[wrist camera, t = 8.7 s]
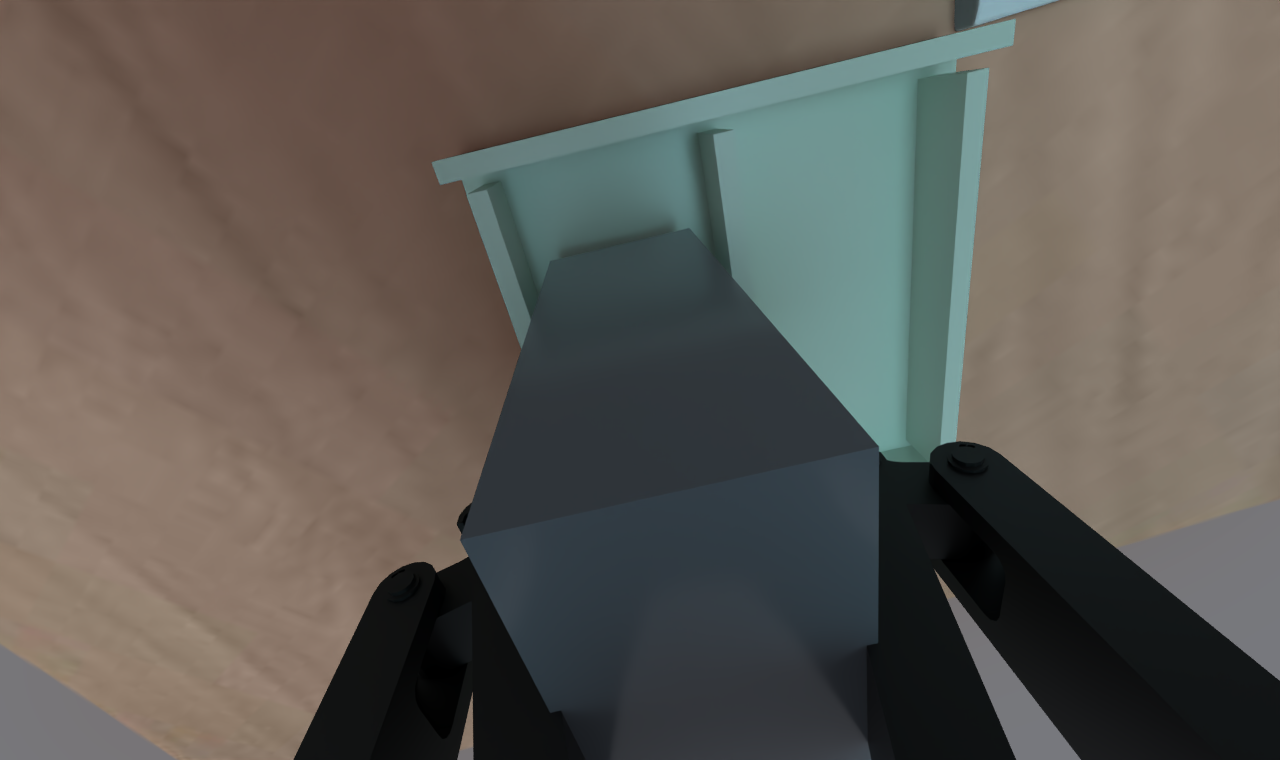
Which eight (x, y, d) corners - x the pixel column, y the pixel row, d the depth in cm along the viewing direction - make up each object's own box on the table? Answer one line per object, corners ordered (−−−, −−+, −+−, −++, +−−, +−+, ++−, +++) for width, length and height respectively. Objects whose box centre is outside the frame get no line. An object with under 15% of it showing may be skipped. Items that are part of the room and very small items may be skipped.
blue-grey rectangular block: (549, 260, 16) (460, 539, 5) (689, 228, 16) (878, 446, 5) (616, 481, 20) (640, 885, 10) (727, 456, 20) (877, 838, 9)
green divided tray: (460, 154, 17) (431, 162, 14) (938, 37, 16) (1015, 18, 13) (586, 512, 24) (585, 568, 21) (919, 438, 24) (966, 485, 21)
